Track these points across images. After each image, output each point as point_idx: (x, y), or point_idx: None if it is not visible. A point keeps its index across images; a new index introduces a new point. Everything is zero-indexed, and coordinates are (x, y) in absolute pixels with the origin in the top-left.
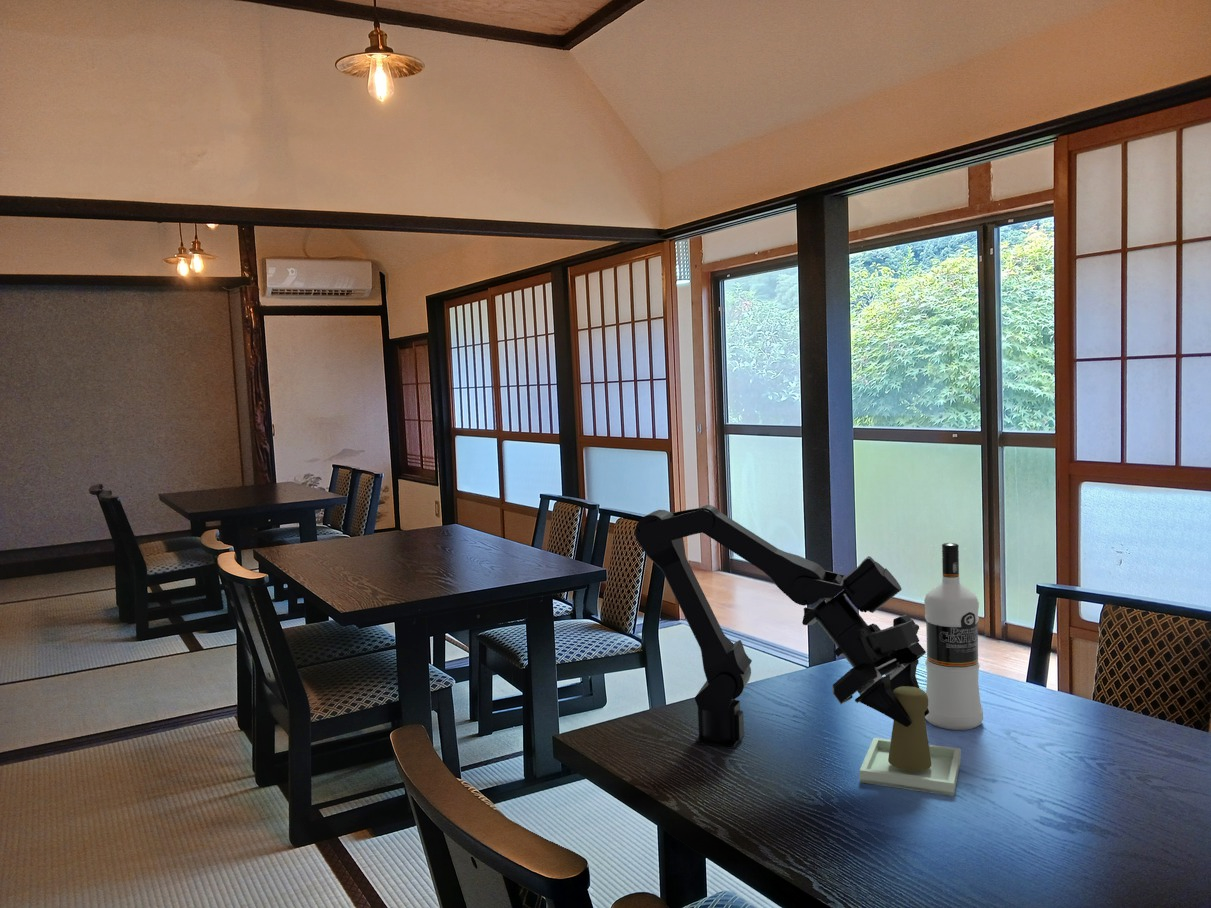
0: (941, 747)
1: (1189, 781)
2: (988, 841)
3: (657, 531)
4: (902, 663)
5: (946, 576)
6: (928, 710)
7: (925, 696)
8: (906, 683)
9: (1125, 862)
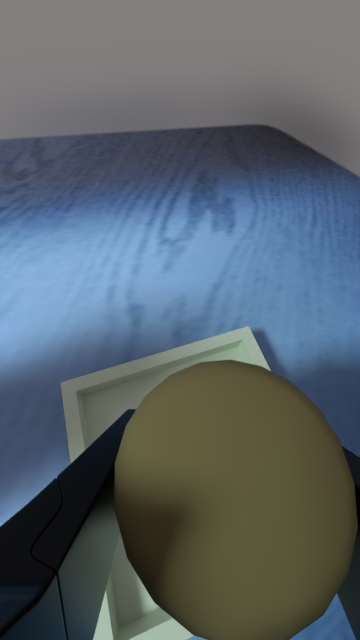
0: (76, 424)
1: (6, 145)
2: (331, 255)
3: None
4: None
5: None
6: (128, 410)
7: (217, 363)
8: (62, 618)
9: (255, 160)
